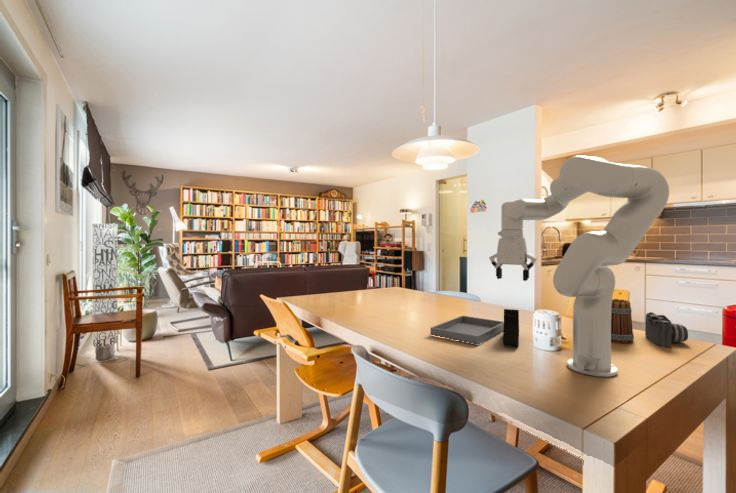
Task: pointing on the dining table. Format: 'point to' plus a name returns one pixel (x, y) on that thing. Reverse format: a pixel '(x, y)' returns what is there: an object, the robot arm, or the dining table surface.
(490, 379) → the dining table surface
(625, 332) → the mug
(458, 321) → the tray
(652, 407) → the dining table surface
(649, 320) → the camera
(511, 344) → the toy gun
